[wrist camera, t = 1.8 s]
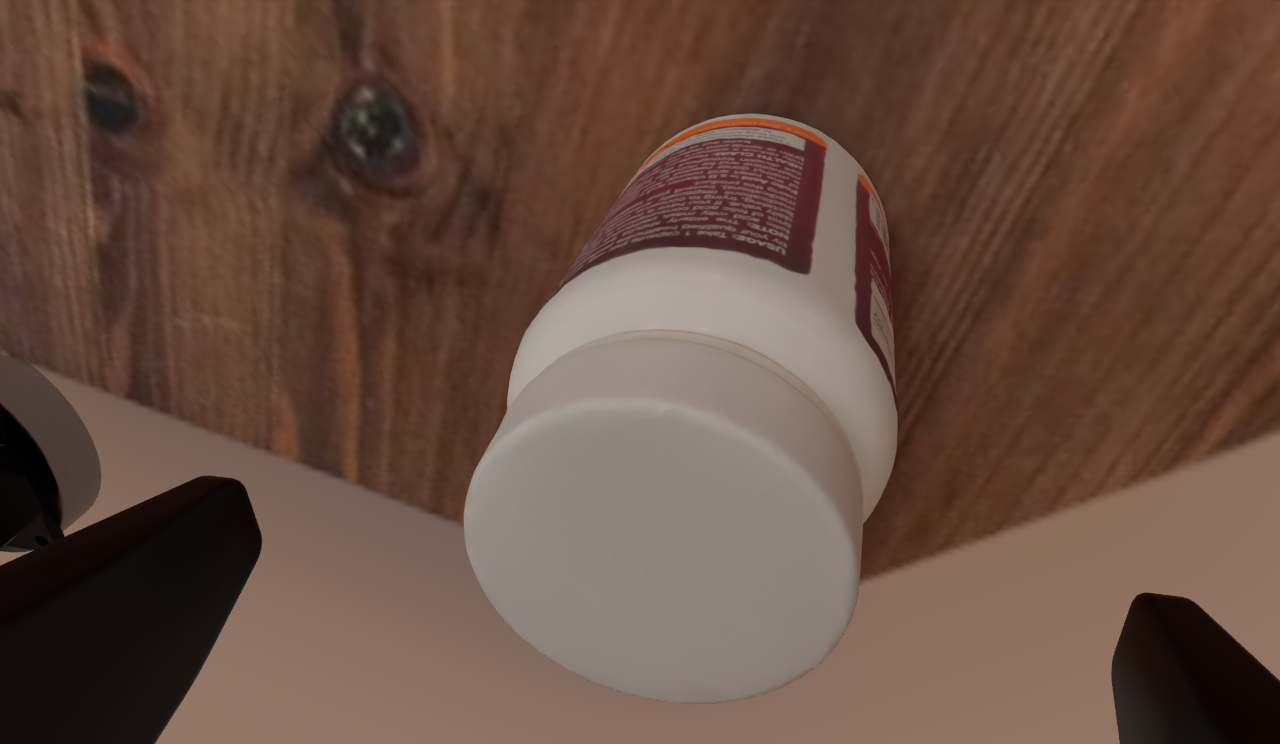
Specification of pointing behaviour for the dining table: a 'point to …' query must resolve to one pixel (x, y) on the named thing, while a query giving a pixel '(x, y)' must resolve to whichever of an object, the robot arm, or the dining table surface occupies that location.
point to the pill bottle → (699, 423)
